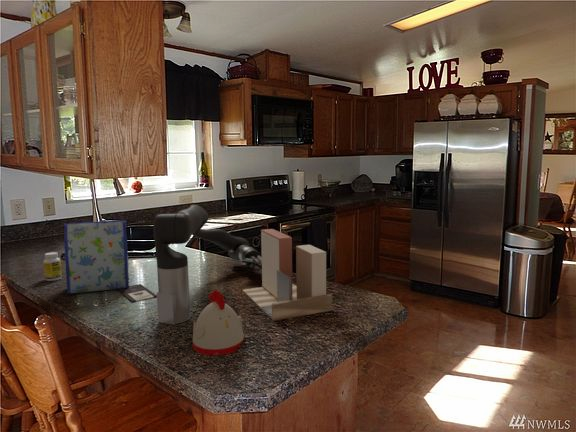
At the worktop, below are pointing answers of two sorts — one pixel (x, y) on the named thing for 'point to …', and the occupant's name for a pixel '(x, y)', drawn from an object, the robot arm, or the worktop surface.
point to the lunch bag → (96, 256)
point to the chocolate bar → (137, 293)
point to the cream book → (310, 271)
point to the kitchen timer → (217, 328)
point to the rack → (290, 303)
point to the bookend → (280, 291)
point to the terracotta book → (275, 258)
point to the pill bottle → (52, 267)
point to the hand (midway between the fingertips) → (263, 266)
